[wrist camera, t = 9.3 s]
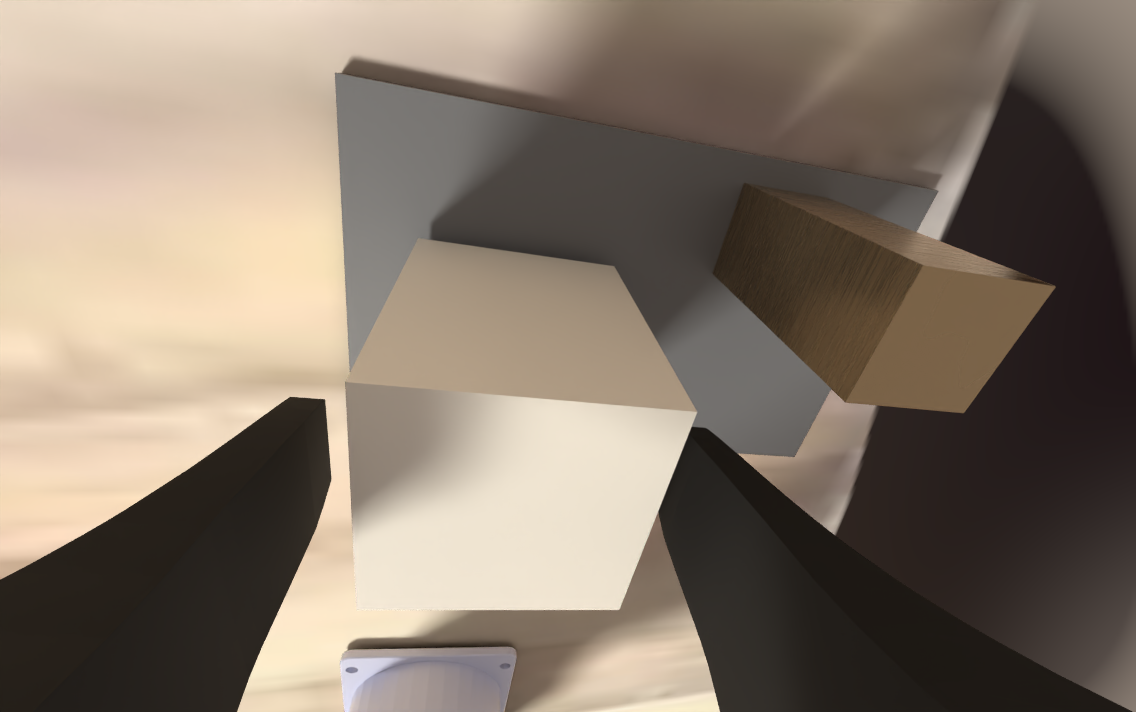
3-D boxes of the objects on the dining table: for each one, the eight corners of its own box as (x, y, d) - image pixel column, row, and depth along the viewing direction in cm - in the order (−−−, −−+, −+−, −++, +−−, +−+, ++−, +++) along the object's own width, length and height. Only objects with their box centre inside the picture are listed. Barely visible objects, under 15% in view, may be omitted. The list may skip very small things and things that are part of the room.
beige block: (577, 416, 16) (618, 609, 10) (412, 403, 15) (356, 609, 9) (614, 266, 13) (697, 411, 8) (418, 237, 12) (345, 381, 7)
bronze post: (791, 285, 15) (964, 413, 9) (712, 273, 14) (845, 402, 9) (828, 198, 13) (1055, 286, 8) (744, 182, 13) (923, 265, 7)
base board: (788, 449, 19) (794, 457, 18) (355, 420, 16) (352, 428, 15) (927, 188, 14) (938, 190, 14) (340, 72, 11) (334, 72, 11)
